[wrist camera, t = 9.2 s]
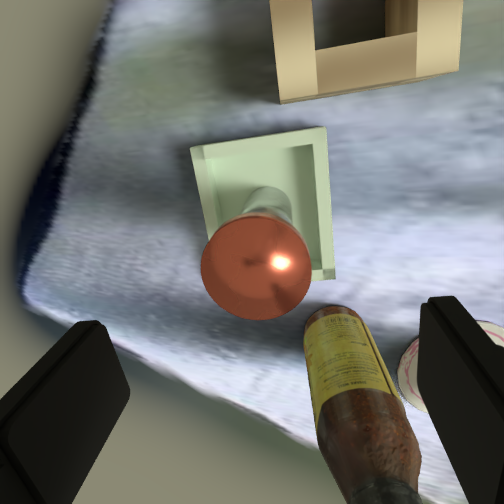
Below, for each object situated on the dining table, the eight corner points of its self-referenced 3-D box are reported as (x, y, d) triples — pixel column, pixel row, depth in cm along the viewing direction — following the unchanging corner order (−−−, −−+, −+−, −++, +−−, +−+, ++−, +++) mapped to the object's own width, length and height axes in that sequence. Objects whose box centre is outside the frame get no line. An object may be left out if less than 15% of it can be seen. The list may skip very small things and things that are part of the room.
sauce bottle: (289, 331, 33) (298, 599, 14) (334, 289, 31) (411, 542, 12) (336, 367, 34) (401, 658, 16) (383, 330, 32) (521, 616, 13)
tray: (197, 145, 27) (189, 147, 24) (321, 126, 26) (326, 126, 23) (223, 276, 31) (219, 289, 29) (331, 266, 30) (335, 278, 27)
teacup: (371, 379, 34) (389, 431, 29) (456, 296, 30) (497, 337, 24) (459, 430, 36) (493, 488, 30) (552, 357, 32) (612, 410, 26)
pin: (230, 181, 27) (190, 225, 16) (298, 172, 26) (306, 212, 15) (240, 244, 29) (212, 323, 18) (304, 237, 28) (315, 316, 17)
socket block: (262, -60, 22) (256, -121, 16) (422, -97, 20) (475, -178, 15) (280, 104, 25) (280, 100, 20) (417, 82, 24) (458, 70, 18)
